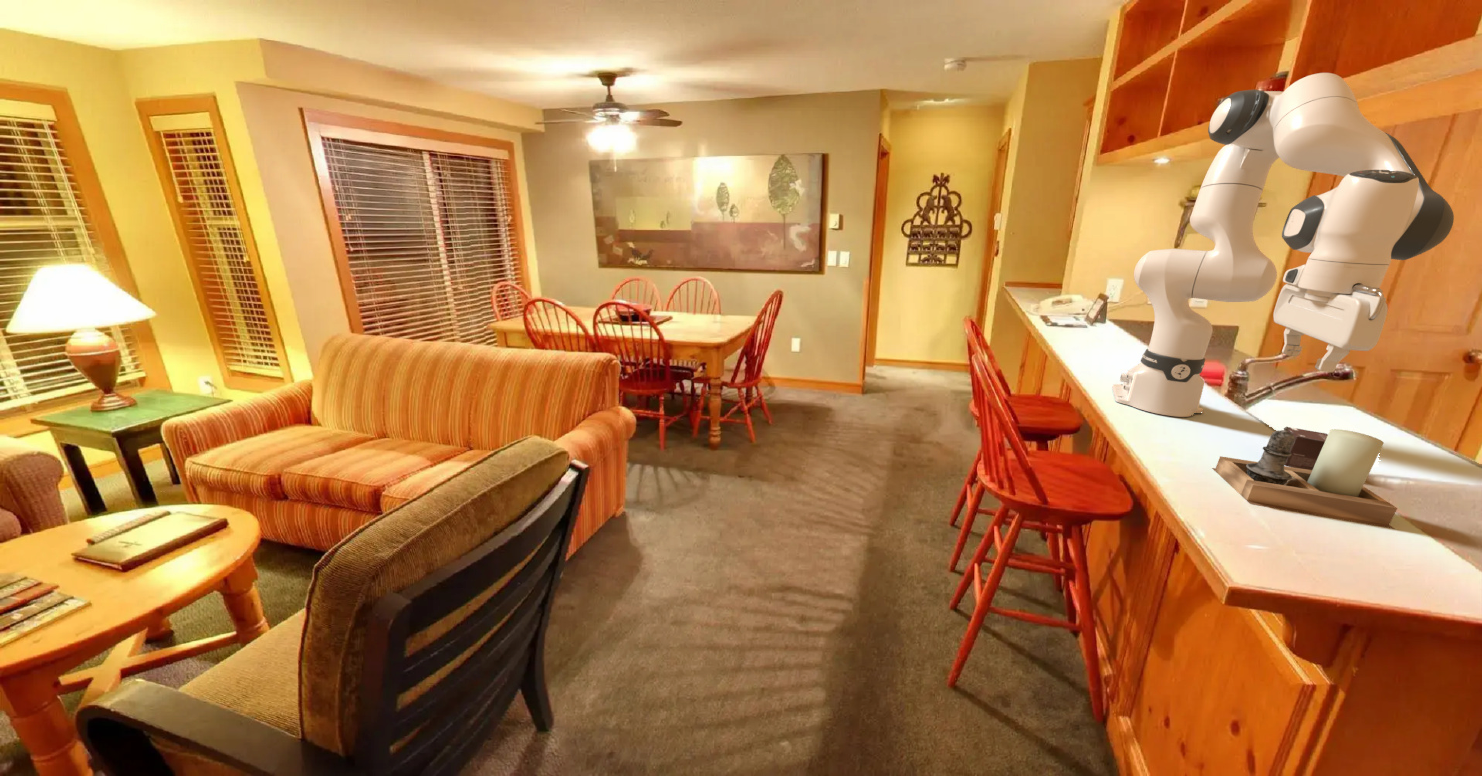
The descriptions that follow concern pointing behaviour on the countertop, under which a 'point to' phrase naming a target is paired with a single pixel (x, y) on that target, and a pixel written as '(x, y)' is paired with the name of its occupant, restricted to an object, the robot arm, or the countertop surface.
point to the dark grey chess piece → (1273, 459)
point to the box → (1305, 448)
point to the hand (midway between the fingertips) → (1305, 362)
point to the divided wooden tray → (1305, 495)
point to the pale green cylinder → (1345, 462)
